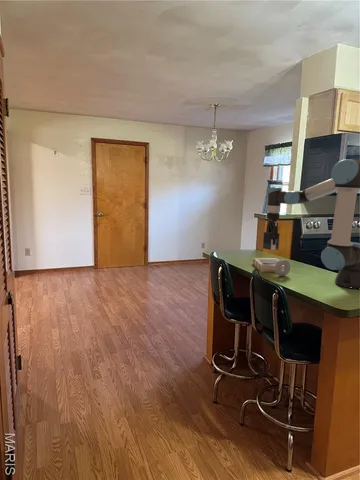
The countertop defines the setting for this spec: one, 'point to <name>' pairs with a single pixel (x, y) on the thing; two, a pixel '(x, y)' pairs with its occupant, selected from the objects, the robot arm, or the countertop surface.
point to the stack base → (266, 264)
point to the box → (269, 241)
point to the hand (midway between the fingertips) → (270, 248)
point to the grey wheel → (285, 270)
